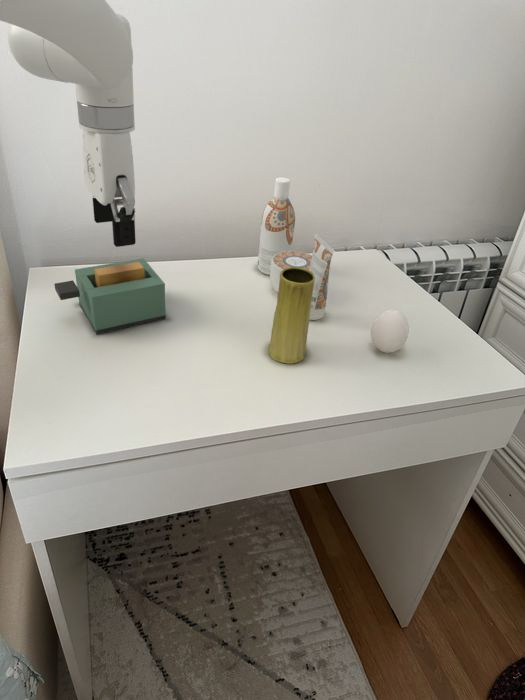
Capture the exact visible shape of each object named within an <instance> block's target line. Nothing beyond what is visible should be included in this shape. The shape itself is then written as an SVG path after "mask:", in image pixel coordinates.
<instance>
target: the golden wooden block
mask: <svg viewBox="0 0 525 700" xmlns="http://www.w3.org/2000/svg"><path fill="white" fill-rule="evenodd" d="M94 271H95V280H96V288H97V287H102V286H108V285H113V284H119V283H124V282H130V281H135V280H141V279H145V278H144V267H143V266H142V265H141V264H140V262H135V263H129V264H123V265H117V266H110V267H104V268H98V269H94Z"/></svg>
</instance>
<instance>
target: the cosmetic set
mask: <svg viewBox="0 0 525 700" xmlns="http://www.w3.org/2000/svg"><path fill="white" fill-rule="evenodd" d="M290 185H291V180H290V179H289V178H287V177H283V176H281V177H276V178H275V180H274V189H273V190H274V192H273V196H272V198H271V199H270V200H269V202H268V203H267V204H266V206H265V207H264V209H263V211H262V216H261V225H260V235H259V246H258V255H257V269H258V270H259V272H261V273H263V274H264V275H268V276H269V282H270V286H271V287H272V289H273V290H274V291H275V292H276V293H277V294H278V289H279V281H280V273H281V271H282V270H284V269H286V268H290V267H300V268H304V269H307V270H309V271H311V272H312V273H313V274H314V276H315V281H314V287H313V294H312V302H311V310H310V318H309V321H317V320H321V319H322V318H323V317H324V316H325V314H326V308H327V298H328V289H329V280H330V279H329V277H330V270H331V269H330V268H331V263H332V258H333V256H334V249H333V248H332V247H331V246H330V245H329V244H327V242H325V240H324V239H322V238H321V237H320V236H319V235H318V234H317V233H314V238H313V239H314V240H313V241H314V242H313V249H312V254H310V253H306V252H304V251H303V252H302V251H298V250H297V251H296V250H292V249H293V248H292V247H293V241H294V233H295V225H296V212H295V208H294V207H293V205H292V202H291V201H290V197H289V194H290V188H291V187H290Z"/></svg>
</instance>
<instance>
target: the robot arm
mask: <svg viewBox="0 0 525 700" xmlns="http://www.w3.org/2000/svg"><path fill="white" fill-rule="evenodd" d="M0 22H4V23H7V24H10V25H9V28H8V32H7V33H8V34H7V41H8V46H9V47H8V48H9V49H10V53H11V54H12V57H13V58H14V60H15V61H16V62H17V63H18V65H19V66H20V67H21V68H22V69H24V70H25V71H26V72H27V73H29V74H31V75H33V76H36V77H38V78H41V79H45V80H49V81H55V82H61V83H66V84H67V83H68V84H74V87H75V96H76V107H77V117H78V127H79V128H80V129H81V130H82V154H83V156H82V157H83V172H84V173H83V174H84V185H85V187H86V189H87V190H88V192H90V194H91V195H92V209H93V219H94V222H95V223H97V224H101V223H110V222H111V225H112V239H113V245H114V246H115V247H117V248H119V247H127V246H134V245H136V222H135V221H136V215H135V213H136V208H135V205H136V199H135V198H136V181H135V165H134V155H133V154H134V153H133V145H132V139H131V132H134V131H135V130H136V125H135V124H136V122H135V98H134V73H133V72H134V71H133V64H134V52H133V51H134V50H133V44H132V28H131V25H130V22H129V20H128V19H127V18H126V16H124V15H123V14H120V13H116V12H115V11H114V9H113V8H112V7H111V5H110V4H109V3H108V2H107V0H0ZM119 206H121V207H120V209H119V208H118V207H119Z"/></svg>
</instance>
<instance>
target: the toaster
mask: <svg viewBox="0 0 525 700" xmlns="http://www.w3.org/2000/svg"><path fill="white" fill-rule="evenodd" d="M135 262H140V264H141V265H142V266H143V267H144V278H145V279H141V280H135V281H130V282H124V283H119V284H113V285H108V286H102V287H97V288H96V280H95V271H94V269H98V268H104V267H110V266H117V265H123V264H129V263H135ZM74 274H75V281H76V282H75V284H76V286H77V288H78V289H79V293H80V297H77V298H78V305H79V307H80V309H81V310H82V312H83V314H84V316H85V317H86V319H87V321H88V323H89V324H90V326H91V328H92V330H93V331H94V333H95V335H100V334H106V333H110V332H114V331H120V330H123V329H127V328H133V327H137V326H141V325H146V324H151V323H154V322H155V323H156V322H160V321H163V320H166V319H167V315H166V314H167V313H166V283H165V282H164V281H163V279H162V278H161V277H160V276H159V275H158V273H156V271H155V270H154V269H153V268H152V266H151V265H150V264H149V262H148V261H146V260H145V258H143V257H142V258H136V259H130V260H125V261H119V262H111V263H105V264H99V265H93V266H88V267H87V266H86V267H82V268H76V269H74Z"/></svg>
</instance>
